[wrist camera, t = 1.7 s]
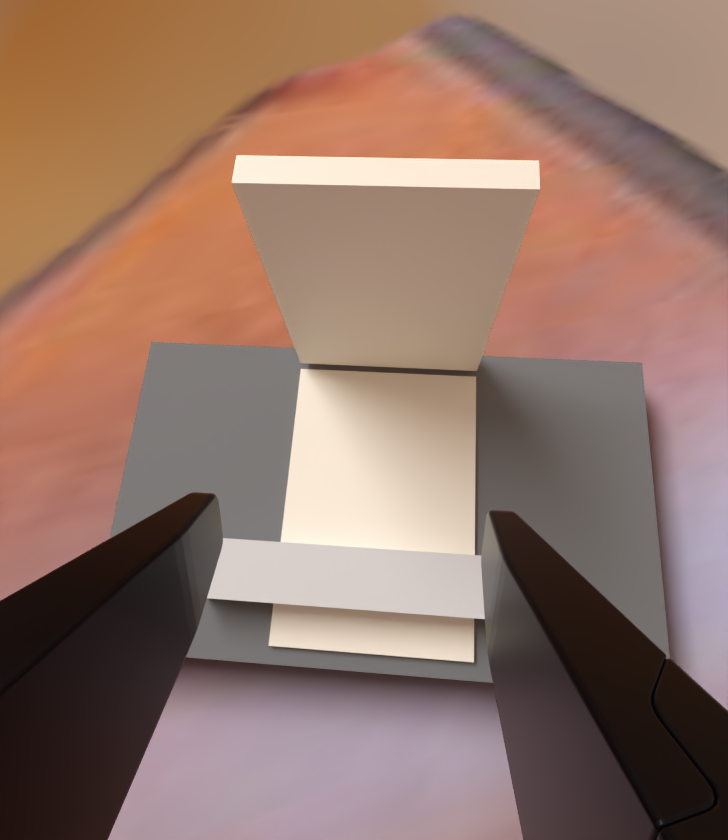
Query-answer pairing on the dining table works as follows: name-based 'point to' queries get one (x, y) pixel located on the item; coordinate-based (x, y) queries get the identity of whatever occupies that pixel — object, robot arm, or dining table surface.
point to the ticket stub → (387, 252)
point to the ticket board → (391, 497)
